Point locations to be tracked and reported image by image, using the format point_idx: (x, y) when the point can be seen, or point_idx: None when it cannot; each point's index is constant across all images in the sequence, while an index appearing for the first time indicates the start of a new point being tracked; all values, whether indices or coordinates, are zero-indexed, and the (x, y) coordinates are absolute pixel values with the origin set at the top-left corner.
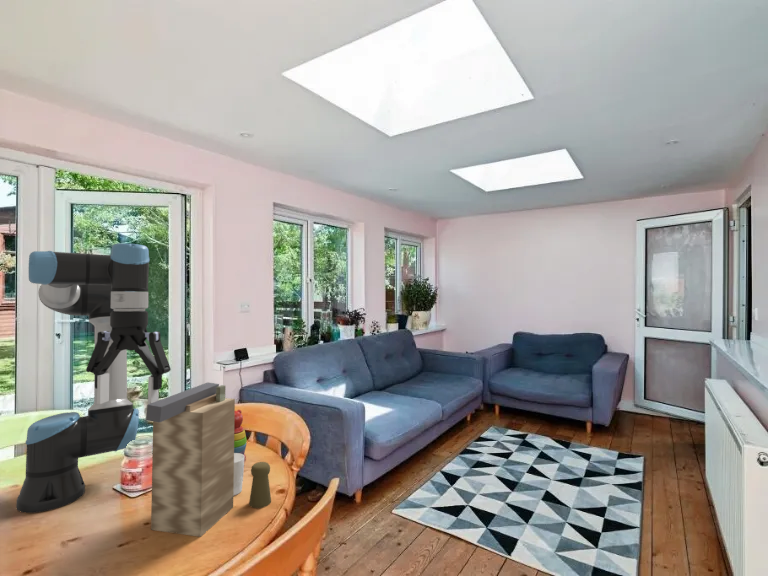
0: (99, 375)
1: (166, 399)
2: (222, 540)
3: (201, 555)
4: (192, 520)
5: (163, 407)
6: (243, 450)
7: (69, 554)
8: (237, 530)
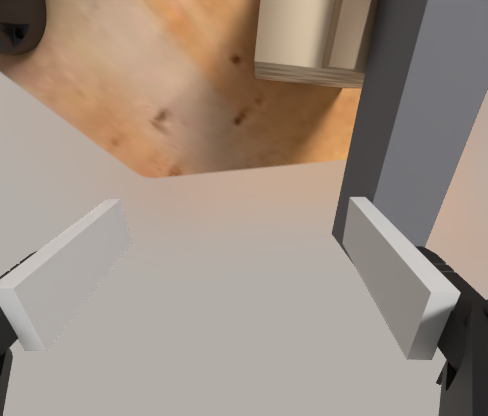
0: (27, 344)
1: (399, 174)
2: None
3: None
4: (334, 86)
5: None
6: None
7: (187, 147)
8: None
